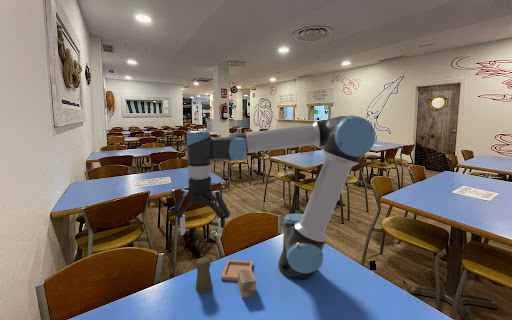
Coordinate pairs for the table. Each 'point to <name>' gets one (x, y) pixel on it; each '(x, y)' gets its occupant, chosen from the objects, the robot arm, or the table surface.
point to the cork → (203, 275)
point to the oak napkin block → (246, 283)
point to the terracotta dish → (235, 269)
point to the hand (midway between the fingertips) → (201, 234)
